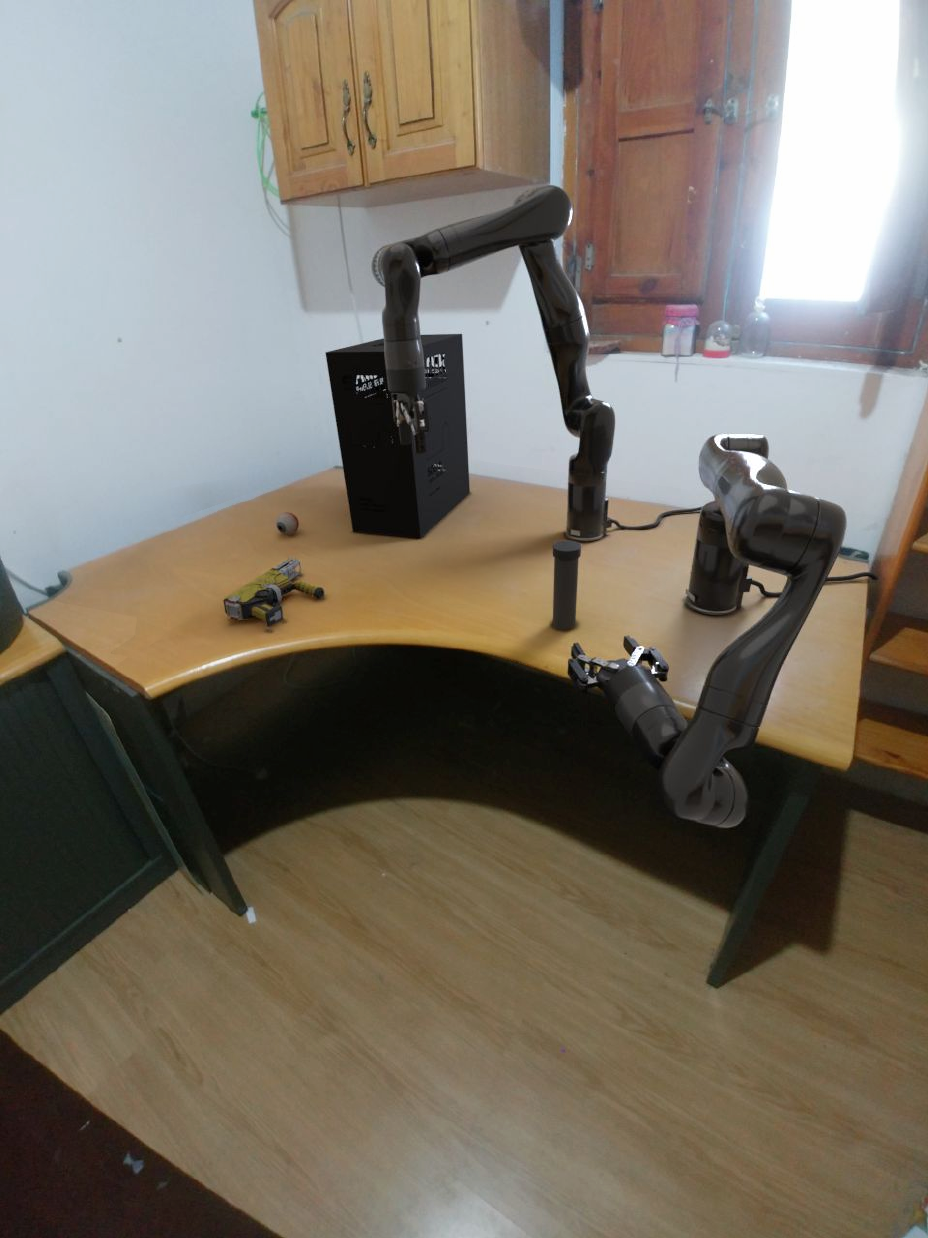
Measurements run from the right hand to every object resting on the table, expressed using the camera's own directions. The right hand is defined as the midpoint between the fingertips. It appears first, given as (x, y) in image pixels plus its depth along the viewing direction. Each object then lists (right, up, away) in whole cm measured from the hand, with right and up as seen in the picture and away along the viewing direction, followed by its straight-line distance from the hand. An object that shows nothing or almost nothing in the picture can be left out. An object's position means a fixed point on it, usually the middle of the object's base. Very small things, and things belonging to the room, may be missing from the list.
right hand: (600, 643), depth 98 cm
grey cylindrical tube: (-3, +3, +19) cm, 19 cm away
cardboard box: (-36, +35, +78) cm, 93 cm away
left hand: (-33, +39, +27) cm, 58 cm away
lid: (-4, +17, +11) cm, 20 cm away
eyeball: (-70, +27, +67) cm, 101 cm away
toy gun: (-60, +8, +33) cm, 70 cm away
